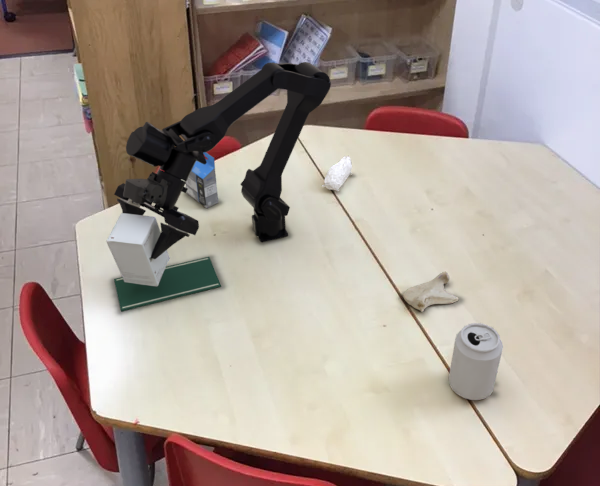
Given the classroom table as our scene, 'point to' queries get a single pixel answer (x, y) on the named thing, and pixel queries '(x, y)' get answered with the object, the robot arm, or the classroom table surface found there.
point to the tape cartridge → (203, 182)
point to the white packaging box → (137, 249)
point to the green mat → (169, 284)
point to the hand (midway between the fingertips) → (137, 249)
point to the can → (475, 361)
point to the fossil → (430, 293)
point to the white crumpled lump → (338, 174)
